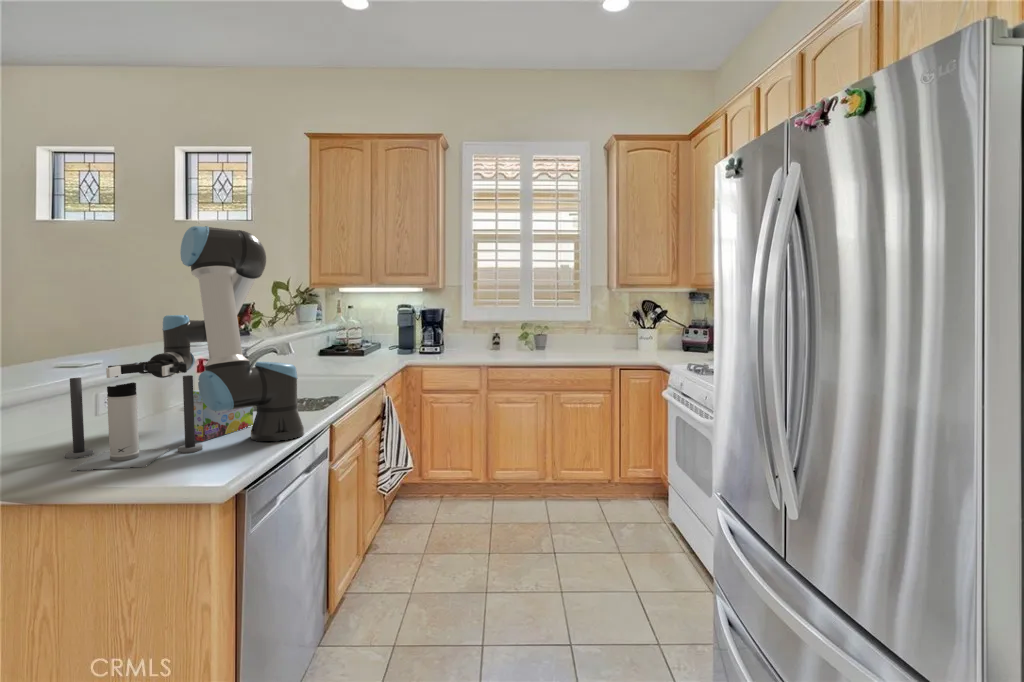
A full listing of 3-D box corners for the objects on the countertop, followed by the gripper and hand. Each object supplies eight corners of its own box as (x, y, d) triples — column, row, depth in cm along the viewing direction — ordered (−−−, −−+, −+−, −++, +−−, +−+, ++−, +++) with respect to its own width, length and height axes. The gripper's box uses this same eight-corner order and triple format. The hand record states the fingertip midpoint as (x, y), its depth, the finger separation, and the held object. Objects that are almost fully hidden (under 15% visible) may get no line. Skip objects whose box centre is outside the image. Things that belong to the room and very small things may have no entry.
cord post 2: (207, 448, 153) (205, 374, 152) (191, 453, 147) (188, 377, 146) (189, 446, 155) (187, 374, 153) (172, 452, 149) (169, 376, 147)
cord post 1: (99, 453, 147) (95, 377, 146) (77, 459, 141) (73, 380, 140) (81, 451, 148) (77, 376, 147) (58, 457, 142) (54, 379, 141)
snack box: (205, 442, 160) (203, 391, 159) (189, 440, 161) (187, 391, 160) (254, 426, 181) (253, 381, 180) (240, 425, 182) (239, 381, 181)
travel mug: (125, 462, 137) (121, 384, 136) (103, 460, 139) (100, 383, 137) (146, 455, 144) (143, 381, 142) (125, 453, 145) (122, 380, 143)
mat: (169, 450, 151) (169, 448, 151) (144, 467, 135) (144, 465, 135) (104, 453, 147) (103, 451, 147) (70, 471, 131) (70, 469, 131)
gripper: (210, 375, 173) (186, 383, 152) (121, 378, 167) (84, 387, 147) (209, 351, 173) (185, 357, 152) (120, 354, 167) (83, 360, 146)
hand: (135, 372), depth 149 cm, fingers open, 13 cm apart
